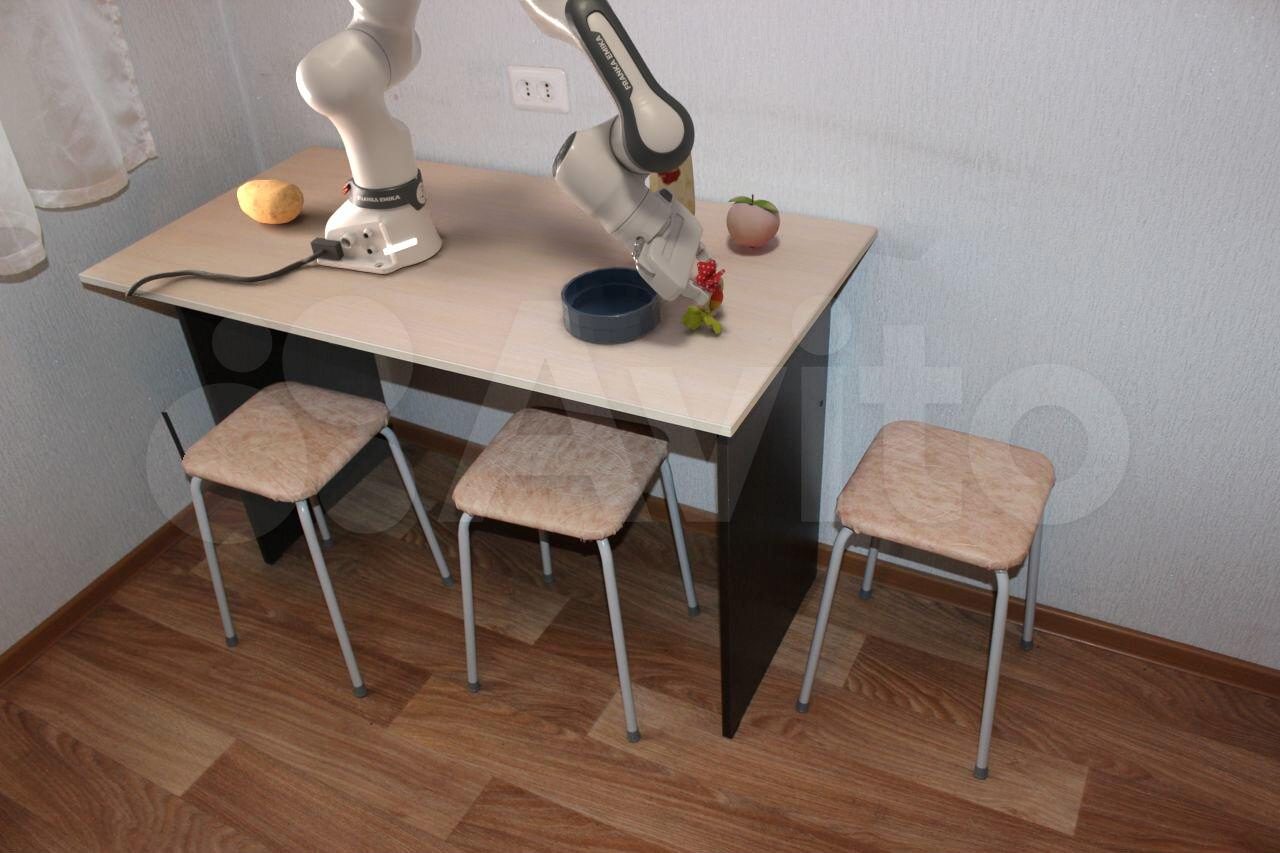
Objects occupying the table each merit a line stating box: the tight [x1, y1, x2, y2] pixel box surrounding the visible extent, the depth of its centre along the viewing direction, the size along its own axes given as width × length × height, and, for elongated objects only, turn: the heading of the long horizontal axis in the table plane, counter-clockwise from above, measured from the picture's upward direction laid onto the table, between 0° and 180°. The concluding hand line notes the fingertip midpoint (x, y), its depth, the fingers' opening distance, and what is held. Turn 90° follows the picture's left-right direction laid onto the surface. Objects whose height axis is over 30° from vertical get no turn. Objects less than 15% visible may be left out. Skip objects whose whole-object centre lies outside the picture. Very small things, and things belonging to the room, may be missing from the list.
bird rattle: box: [679, 259, 726, 335], centre depth 159 cm, size 6×11×9 cm
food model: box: [648, 152, 696, 217], centre depth 174 cm, size 10×7×20 cm
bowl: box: [560, 266, 664, 344], centre depth 163 cm, size 16×16×5 cm
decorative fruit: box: [726, 193, 781, 249], centre depth 177 cm, size 9×8×10 cm
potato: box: [236, 179, 305, 225], centre depth 200 cm, size 10×14×8 cm
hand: (710, 284), depth 158 cm, fingers open, 8 cm apart
